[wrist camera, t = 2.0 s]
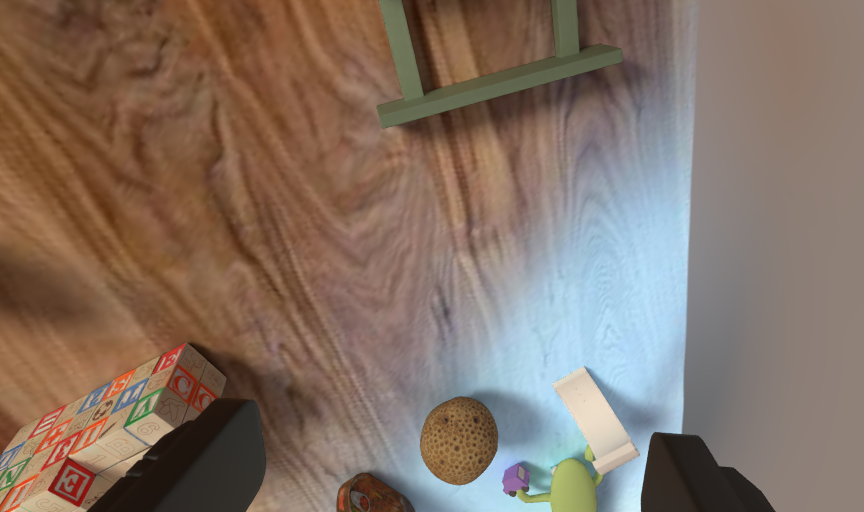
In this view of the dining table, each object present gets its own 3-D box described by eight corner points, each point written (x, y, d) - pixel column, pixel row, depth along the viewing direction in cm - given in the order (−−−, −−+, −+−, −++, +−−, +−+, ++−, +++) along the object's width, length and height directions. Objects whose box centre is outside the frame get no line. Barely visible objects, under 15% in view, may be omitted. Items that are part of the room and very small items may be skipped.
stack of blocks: (186, 338, 46) (139, 443, 36) (228, 376, 49) (197, 481, 39) (19, 428, 49) (-71, 551, 38) (69, 458, 52) (-1, 579, 41)
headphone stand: (583, 365, 57) (635, 448, 47) (601, 391, 60) (653, 474, 50) (551, 383, 58) (595, 469, 48) (570, 408, 61) (615, 493, 51)
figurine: (490, 549, 76) (499, 587, 71) (497, 444, 62) (509, 482, 58) (596, 529, 78) (612, 565, 73) (625, 423, 65) (647, 458, 60)
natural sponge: (425, 371, 54) (440, 444, 45) (495, 378, 56) (522, 448, 47) (406, 425, 58) (417, 501, 49) (472, 429, 60) (493, 502, 52)
